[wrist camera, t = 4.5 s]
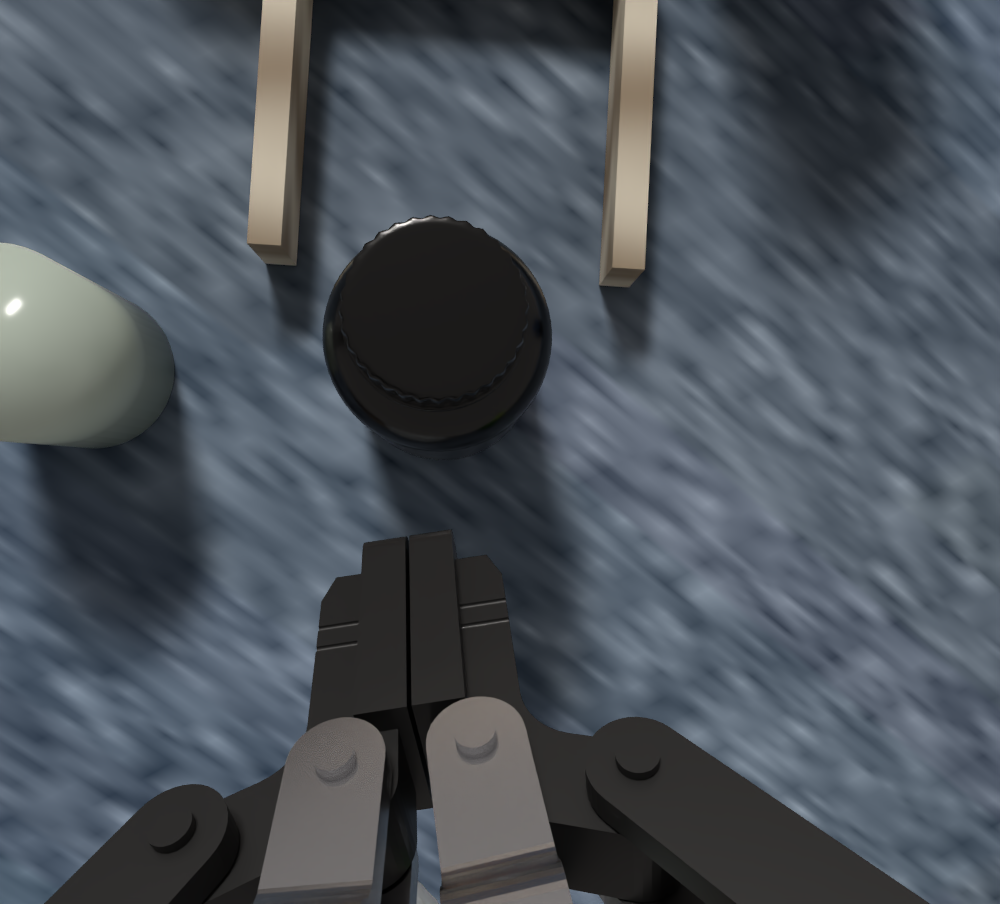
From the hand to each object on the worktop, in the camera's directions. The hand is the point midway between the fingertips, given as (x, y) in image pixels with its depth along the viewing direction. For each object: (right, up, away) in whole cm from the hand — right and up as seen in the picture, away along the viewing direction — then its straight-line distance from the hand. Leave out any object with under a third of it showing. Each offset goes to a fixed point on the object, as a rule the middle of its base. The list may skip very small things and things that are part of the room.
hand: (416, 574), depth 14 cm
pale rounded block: (-14, +5, +18) cm, 23 cm away
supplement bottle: (-1, +5, +19) cm, 19 cm away
